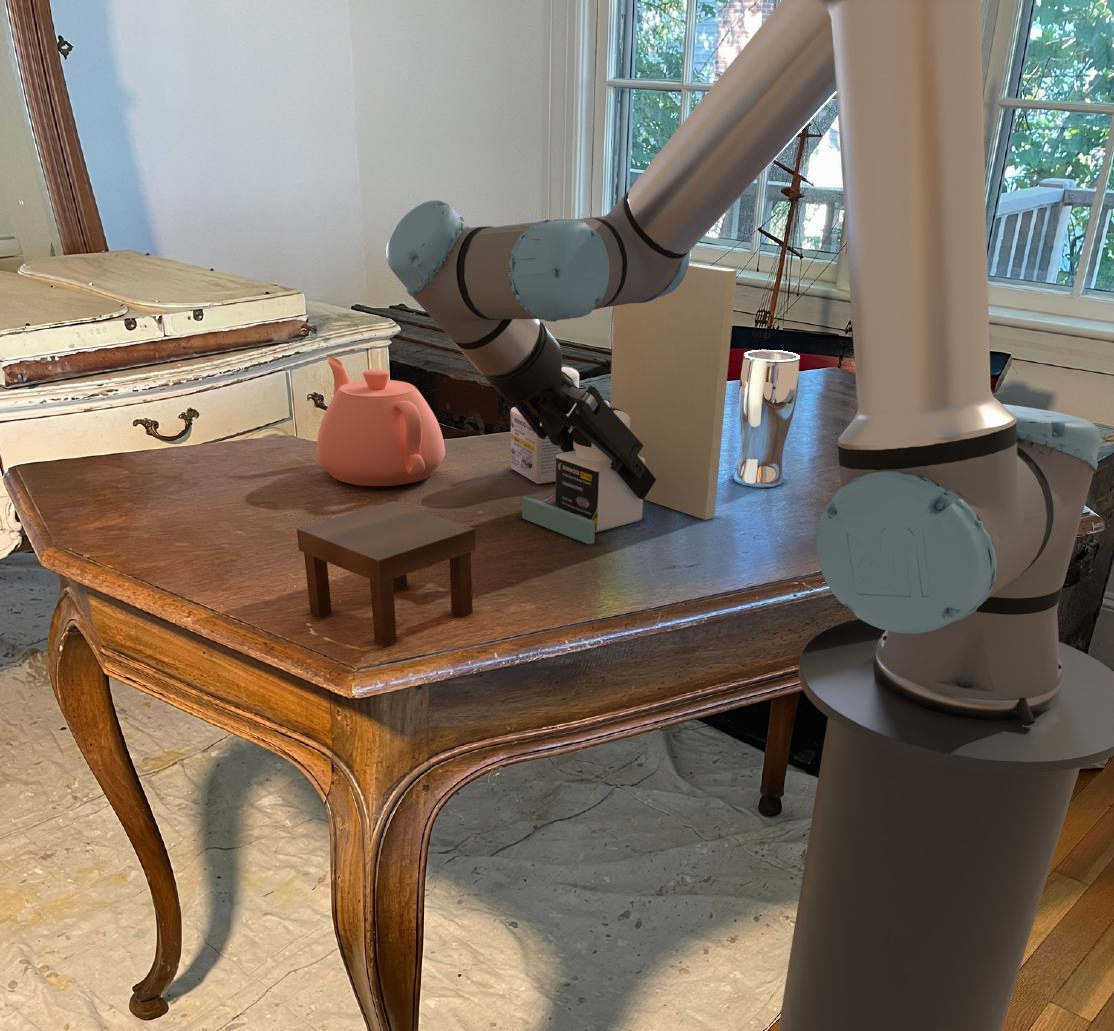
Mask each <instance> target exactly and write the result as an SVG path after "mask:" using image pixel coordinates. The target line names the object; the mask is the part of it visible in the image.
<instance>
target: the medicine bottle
mask: <svg viewBox="0 0 1114 1031" xmlns="http://www.w3.org/2000/svg"><path fill="white" fill-rule="evenodd" d="M610 408H611V410H612V411H613V412H614V413H615V414H616V415H617V416H618V417H619V418H620V420H621V421H622V422H623V423H624V424H625V425H626V426H627V427H628V429H629V430H630V417H629V415H628V414H627V413H625V412H624V411H622V410H620V409H617V408H612V407H610ZM573 448H574V449H575V451H570V452H565V453H561V454H558V455H557V456H556V482H555V493H554V494H555V498H554V500H555V501H554V507H557V508H560V509H562V510H565V511H568V512H571V513H573V514H576V515H579V516H581V517H584V518H587V519H589V520H592V521H595V533H599V532H604V531H607V530H610V529H614V528H618V527H621V526H625V525H629V524H632V523H636V522H639V521H641V520H642V519H643V506H644V500H642V499H639V498H638V497H637V496H636V495H635V493H634V492H633V491H632V490H631V489H630V487H629V486H628V485H627V484H626V483H625V481H624V480H623V479H622V478H621V477H620V475H619V474H618V473H617V472H616V471H614V470H612V469H611V465H610V464H611V463H612V460H611V459H610V458H609V457H608V456H606V455H605V454H604V453H603V452H602V451H601V450H600V449H598V448H597V447H596V446H595V445H594V444H593V443H592V442H591V441H589V440H588V439H587V438H586V437H585V436H584V435H583V434H582V433H580V432H579V431H578V430H577V429H576V428H575V427H574V440H573ZM638 457H639V458H640V459H641V461H642V462H643V463H644V464H645V458H643V457H640V456H638Z"/></svg>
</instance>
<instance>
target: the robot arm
mask: <svg viewBox="0 0 1114 1031" xmlns="http://www.w3.org/2000/svg"><path fill="white" fill-rule="evenodd" d="M981 13H982V12H981V0H781V1H780V2H779V3H778V4H777V6H776V7H775V8H774V9H773V11H772V12H771V13H770V14H769V15H768V17H767V18H766V20H765V21H764V22H763V23H762V24H761V26H759V28H758V29H757V31H755V33H754V34H753V36H751V38H750V39H749V41H748V42H747V43H746V44H745V46H744V47H742V49H741V50H740V52H739V53H738V54H737V55H736V57H735V58H734V59H733V60H732V61H731V62H730V64H729V65H728V66H727V68H726V69H725V70H724V72H723V73H722V74H721V75H720V76H719V77H718V79H717V80H716V81H715V82H714V84H713V85H712V86H711V87H710V89H709V90H708V91H707V93H706V94H705V95H704V96H703V98H702V99H701V100H700V101H699V102H698V104H697V105H696V106H695V107H694V108H693V110H692V111H691V112H690V114H689V115H688V116H687V117H686V119H685V120H684V121H683V122H682V123H681V124H680V126H679V127H678V128H677V130H675V132H674V133H673V135H672V136H671V137H670V138H669V139H668V140H667V142H666V143H665V144H664V146H663V147H662V148H661V150H660V151H659V152H658V153H657V154H656V156H655V157H654V158H653V160H652V161H650V163H649V164H648V166H646V168H645V169H644V170H643V172H642V173H641V174H640V175H639V176H638V178H637V179H636V180H635V182H634V183H633V184H632V185H631V186H630V187H629V189H628V190H627V191H626V192H625V194H624V195H623V196H622V197H621V198H620V200H619V201H618V202H617V203H616V204H615V206H613V208H612V209H611V210H610V211H609V212H608V213H607V214H605V215H603V216H592V217H591V216H590V217H583V218H573V219H570V218H569V219H566V218H556V219H548V218H547V219H545V220H539V221H534V222H533V221H532V222H525V223H516V224H508V225H499V226H491V225H490V226H485V225H484V226H472V227H471V226H469V225H467V224H466V222H465V221H464V218H463V216H462V215H461V214H459V213H457V211H456V210H455V209H453V207H451V205H450V204H448V203H447V202H444V201H442V200H438V199H434V200H428V201H424V202H422V203H420V204H419V205H417V206H415V207H413V208H412V209H411V210H410V211H409V212H407V213H406V214H405V215H404V216H403V217H402V218H401V219H400V220H399V221H398V222H397V224H396V226H395V227H394V228H393V231H392V233H391V235H390V236H389V237H388V238H389V239H388V240H387V243H386V250H385V257H386V263H387V265H388V267H389V269H390V270H391V271H392V272H393V273H394V275H395V276H396V277H397V279H398V280H399V282H401V284H402V285H403V287H405V289H406V293H407V294H408V296H410V297H412V298H413V300H415V301H416V303H417V304H418V305H419V306H420V307H421V308H422V309H423V310H424V311H425V312H426V313H427V315H429V317H430V318H431V319H432V320H433V321H434V322H435V323H436V325H437V326H438V327H439V328H440V329H441V330H442V331H443V333H445V334H446V335H447V336H448V338H449V339H451V340H452V341H453V343H454V344H455V346H456V348H457V349H458V350H459V351H460V352H461V353H462V355H463V356H464V357H465V358H466V359H467V360H468V361H469V362H470V363H471V364H472V366H473V367H474V368H475V369H476V370H477V372H479V373H480V374H482V375H483V376H484V378H485V379H486V380H487V382H488V383H489V384H490V385H491V386H492V387H493V389H495V390H496V392H497V393H498V395H500V396H501V397H502V398H503V399H504V400H507V401H509V402H510V403H511V404H512V405H513V407H516V409H517V410H518V411H519V412H520V414H521V415H522V416H523V418H524V419H525V420H526V421H527V423H528V424H529V425H530V427H531V428H532V429H533V430H534V432H535V433H536V434H537V435H538V437H539V438H542V439H545V438H546V436H548V438H549V440H550V441H551V443H552V444H554V445H556V446H559V445H560V446H561V448H560V449H561V450H562V451H563V452H564V453H565V452H570V451H575V449H574V448H573V440H574V428H573V429H572V431H571V432H569V429H570V428H571V426H574V427H575V428H576V429H577V430H578V431H579V432H580V433H582V434H583V435H584V436H585V437H586V438H587V439H588V440H589V441H591V442H592V443H593V444H594V445H595V446H596V447H597V448H598V449H600V450H601V451H602V452H603V453H604V454H605V455H606V456H608V457H609V458H610V459H611V460H612V463H611V464H610V465H611V469H612V470H614V471H616V472H617V473H618V474H619V475H620V477H621V478H622V479H623V480H624V481H625V483H626V484H627V485H628V486H629V487H630V489H631V490H632V491H633V492H634V493H635V495H636V496H637V497H638V498H639V499H642V500H643V501H644V498H645V497H646V495H647V494H648V492H649V490H650V489H651V487H652V486H653V484H654V483H655V481H656V478H655V477H654V476H653V475H652V473H651V472H650V471H649V470H648V468H647V467H646V466H645V464H644V463H643V462H642V461H641V459H640V458H639V457H638V456H637V455H638V454H639V452H640V450H641V449H642V447H643V444H642V443H641V442H640V441H639V440H638V439H637V438H636V436H635V435H634V434H633V433H632V432H631V431H630V430H629V429H628V427H627V426H626V425H625V424H624V423H623V422H622V421H621V420H620V418H619V417H618V416H617V415H616V414H615V413H614V412H613V411H612V410H611V408H610V407H609V406H608V405H607V404H606V403H605V402H604V400H605V399H604V398H603V396H602V395H601V393H600V392H599V390H598V389H597V388H596V387H595V386H592V385H588V386H587V388H586V390H585V391H583V390H581V389H580V387H579V388H578V387H576V386H575V384H574V382H573V380H572V379H571V378H570V377H569V376H568V375H567V374H566V373H564V372H562V364H563V351H562V348H561V346H560V343H559V342H558V341H557V340H556V339H555V337H554V336H553V335H552V333H551V332H550V331H549V329H548V328H547V327H546V326H545V324H544V323H543V322H542V321H541V320H543V321H545V322H551V323H554V322H557V321H563V320H570V319H579V318H584V317H586V316H589V314H591V313H592V312H593V311H595V310H598V309H603V308H609V307H614V306H617V305H623V304H630V303H645V302H649V301H652V300H654V299H656V298H658V297H660V296H664V295H667V294H669V293H670V292H672V291H673V290H675V289H676V288H677V287H678V286H679V285H680V284H681V282H682V281H683V279H684V278H685V274H686V271H687V268H688V265H689V263H691V262H690V261H691V256H692V254H691V250H692V249H694V247H695V246H697V244H698V243H699V242H700V241H701V240H702V239H703V238H704V236H706V234H707V233H708V232H709V231H710V230H711V229H712V228H713V227H714V225H716V223H717V222H718V221H719V220H721V218H722V217H723V216H724V215H725V214H726V213H727V212H728V211H729V209H730V208H731V207H732V206H733V205H734V204H735V203H736V202H737V201H738V200H739V199H740V198H741V196H743V194H745V192H746V191H747V190H748V189H749V188H750V187H751V186H752V184H753V183H754V182H755V181H756V180H757V179H758V178H759V177H760V176H761V175H762V174H763V173H764V172H765V171H766V169H767V168H768V167H769V166H770V165H771V164H773V162H774V161H775V160H776V159H777V158H778V156H779V155H780V154H782V152H783V151H784V150H785V149H786V148H787V147H788V146H789V145H790V143H791V142H793V141H794V139H796V137H797V136H798V135H799V134H800V133H801V132H802V131H803V129H804V128H805V127H806V126H807V125H809V123H810V122H811V121H812V120H813V118H814V117H816V116H817V114H818V113H819V112H820V111H821V110H822V109H823V108H824V107H825V106H826V104H827V103H828V102H829V101H830V100H831V99H832V98H833V97H834V96H835V95H836V102H837V103H836V106H837V107H836V108H837V120H838V121H837V122H838V136H839V149H840V150H839V151H840V163H841V164H840V166H841V178H842V180H841V181H842V191H843V192H842V195H843V209H844V211H843V212H844V224H845V225H844V226H845V239H846V241H845V242H846V255H847V267H848V283H849V298H850V313H851V326H852V327H851V328H852V329H851V330H852V342H853V357H854V371H855V373H854V374H855V385H856V386H855V387H856V389H855V390H856V402H857V412H856V414H855V416H854V418H853V420H852V421H851V422H850V424H849V425H848V426H847V427H846V428H845V430H844V431H843V432H842V433H841V434H840V435H839V437H838V439H837V453H838V454H837V455H838V466H839V479H840V488H838V490H837V491H836V492H835V493H834V495H833V497H832V498H831V500H830V502H829V503H828V505H827V507H826V508H825V509H824V511H823V512H822V515H821V517H820V520H819V523H818V527H817V532H816V555H817V560H818V565H819V568H820V571H821V574H822V576H823V578H824V581H825V582H826V584H827V586H828V588H829V590H830V591H831V592H832V594H833V595H834V596H835V598H836V599H837V600H838V601H839V602H840V603H841V604H842V605H843V606H844V605H845V606H846V607H847V608H848V609H849V610H850V611H851V612H852V613H853V614H854V616H855V617H857V619H861V620H863V621H864V622H866V623H868V624H870V625H872V626H875V627H877V628H880V629H883V630H886V631H885V632H884V634H883V635H882V637H881V639H880V640H879V642H878V644H877V648H876V654H875V659H874V665H873V670H874V673H875V675H876V677H877V679H878V680H879V682H880V683H881V684H882V685H883V686H884V687H885V688H887V689H888V690H889V691H891V692H892V693H893V694H895V695H897V696H898V697H900V698H902V699H904V700H906V701H908V702H910V703H912V704H914V705H917V706H919V707H922V708H925V709H928V710H931V711H934V712H937V713H941V714H945V715H950V716H954V717H960V718H966V719H974V720H987V721H1006V720H1017V719H1022V721H1023V723H1024V726H1029V725H1032V724H1034V723H1035V719H1034V717H1033V716H1036V715H1038V714H1041V713H1043V712H1045V711H1047V710H1048V709H1050V708H1051V707H1052V706H1053V705H1054V704H1055V703H1056V701H1057V699H1058V696H1059V692H1060V688H1061V685H1062V681H1063V676H1064V674H1063V668H1062V662H1061V660H1060V658H1059V642H1060V641H1059V619H1058V608H1059V603H1060V599H1061V595H1062V591H1063V588H1064V583H1065V581H1066V577H1067V573H1068V570H1069V567H1070V562H1071V558H1072V555H1073V551H1074V548H1075V543H1076V539H1077V536H1078V532H1079V528H1080V526H1081V520H1082V517H1083V513H1084V509H1085V506H1086V502H1087V500H1088V499H1087V498H1088V496H1089V492H1090V487H1091V484H1092V480H1093V476H1094V473H1096V472H1097V470H1098V467H1099V462H1098V455H1099V449H1100V446H1101V445H1100V444H1101V432H1100V430H1099V428H1098V427H1097V426H1096V425H1095V424H1094V423H1093V422H1091V421H1089V420H1088V419H1085V418H1083V417H1079V416H1075V415H1071V414H1066V413H1063V412H1057V411H1053V410H1046V409H1041V408H1035V407H1029V406H1020V405H1014V404H1006V403H1001V401H999V400H998V399H997V398H996V397H994V395H993V392H992V388H991V387H992V386H991V354H990V353H991V352H990V350H991V347H990V315H989V314H990V313H989V310H990V309H989V277H988V239H987V238H988V237H987V204H986V198H987V197H986V164H985V163H986V161H985V128H984V127H985V126H984V92H983V91H984V90H983V88H984V87H983V52H982V16H981ZM575 403H576V406H575V407H574V409H573V410H572V412H571V413H570V415H569V416H567V415H566V414H568V413H569V412H570V411H571V409H572V408H573V406H574V405H575ZM540 422H541V426H540Z"/></svg>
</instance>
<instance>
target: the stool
mask: <svg viewBox="0 0 1114 1031" xmlns="http://www.w3.org/2000/svg"><path fill="white" fill-rule="evenodd" d="M296 535H297V536H296V538H297V545H298V551H299V552H302V553H303V556H304V566H305V575H306V585H307V595H308V604H309V614H311V615H312V616H315V617H317V618H319V619H320V618H323V617H325V616H329V615H331V614H333V613H332V612H333V611H332V602H331V589H330V580H329V569H328V563H329V564H330V565H334V566H336V567H338V568H341V569H343V570H346V571H348V572H351V573H353V574H355V575H357V576H359V577H363V578H366V579H368V580H369V585H370V586H369V587H370V600H371V614H372V627H373V639H374V641H373V642H374V643H375V644H377V645H378V646H381V647H383V648H387V647H390V646H392V645H395V644H397V643H398V640H397V638H398V637H397V622H396V606H395V605H396V604H395V592H394V590H395V591H398V590H401V589H404V588H408V574H412V573H414V572H417V571H419V570H423V569H426V568H428V567H431V566H435V565H438V564H440V563H442V562H443V563H444V562H447V561H449V575H450V576H449V580H450V582H449V583H450V611H451V614H453V615H456V616H458V617H460V618H462V617H463V618H464V617H465V616H468V615H470V614H473V582H472V581H473V578H472V577H473V576H472V575H473V574H472V552H475V551H476V550H477V544H476V542H477V541H476V540H477V538H476V528H474V527H471V526H468V525H466V524H462V523H460V522H457V521H454V520H450V519H447V518H445V517H441V516H438V515H436V514H434V513H430V512H427V511H424V510H421V509H418V508H415V507H412V506H410V505H406V504H404V503H400V502H397V501H394V500H393V501H388V502H385V503H381V504H378V505H374V506H371V507H367V508H365V509H361V510H357V511H354V512H350V513H347V514H344V515H339V516H336V517H333V518H329V519H327V520H322V521H319V522H315V523H312V524H309V525H305V526H302V527H297V528H296Z"/></svg>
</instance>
